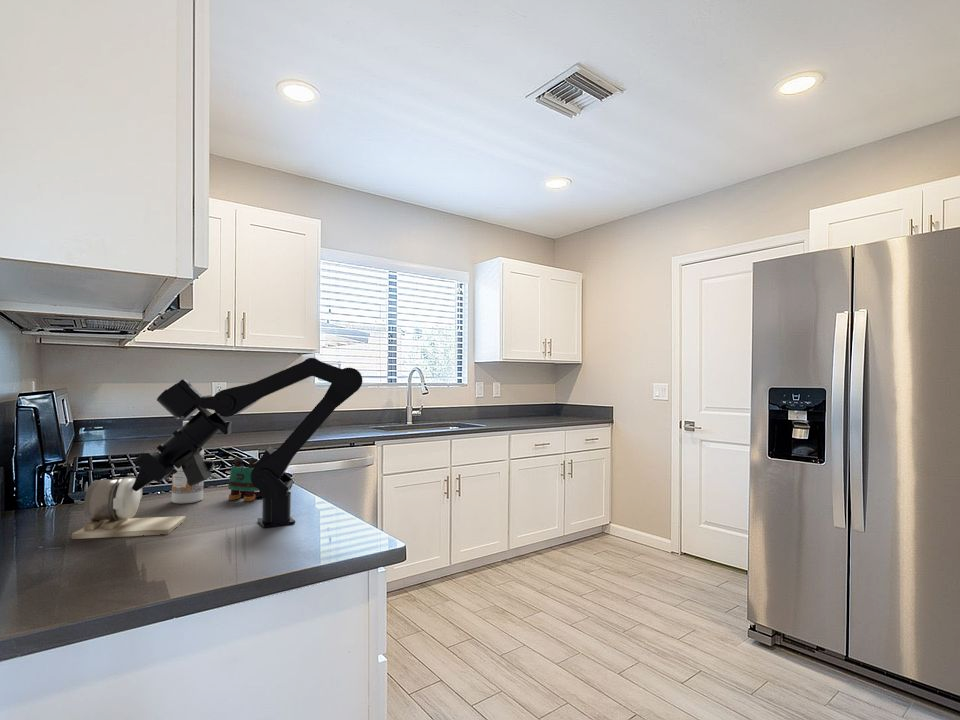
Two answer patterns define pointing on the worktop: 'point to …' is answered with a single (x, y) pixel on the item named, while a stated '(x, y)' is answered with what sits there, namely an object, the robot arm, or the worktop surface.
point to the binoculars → (242, 481)
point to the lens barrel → (101, 500)
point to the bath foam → (185, 486)
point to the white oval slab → (127, 499)
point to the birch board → (129, 527)
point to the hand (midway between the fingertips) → (134, 489)
